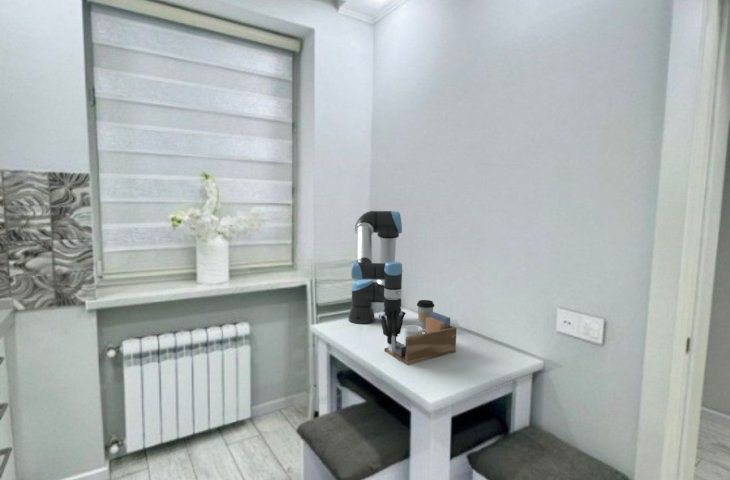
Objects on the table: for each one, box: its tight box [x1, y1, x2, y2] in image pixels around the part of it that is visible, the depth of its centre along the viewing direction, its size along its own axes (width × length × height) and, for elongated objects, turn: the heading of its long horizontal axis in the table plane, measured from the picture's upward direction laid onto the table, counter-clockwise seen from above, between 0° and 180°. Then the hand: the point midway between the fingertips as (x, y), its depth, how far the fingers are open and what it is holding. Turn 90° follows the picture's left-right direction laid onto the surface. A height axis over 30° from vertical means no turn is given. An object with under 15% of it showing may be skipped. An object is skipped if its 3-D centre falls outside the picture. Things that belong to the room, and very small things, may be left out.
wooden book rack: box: [383, 324, 457, 366], centre depth 178 cm, size 17×28×12 cm, turn 122°
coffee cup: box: [416, 299, 435, 329], centre depth 210 cm, size 9×9×15 cm
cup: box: [403, 324, 427, 346], centre depth 177 cm, size 8×12×10 cm
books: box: [425, 311, 451, 333], centre depth 183 cm, size 11×6×14 cm, turn 32°
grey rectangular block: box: [393, 340, 406, 357], centre depth 173 cm, size 9×3×4 cm, turn 32°
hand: (391, 350), depth 171 cm, fingers closed
